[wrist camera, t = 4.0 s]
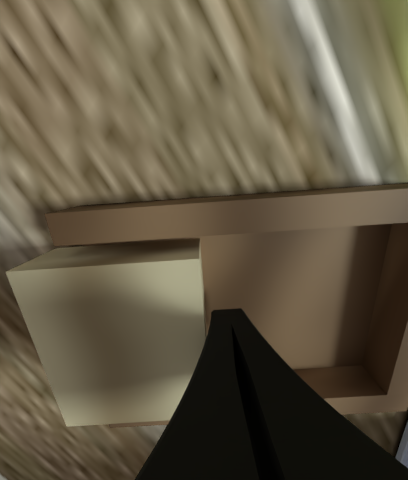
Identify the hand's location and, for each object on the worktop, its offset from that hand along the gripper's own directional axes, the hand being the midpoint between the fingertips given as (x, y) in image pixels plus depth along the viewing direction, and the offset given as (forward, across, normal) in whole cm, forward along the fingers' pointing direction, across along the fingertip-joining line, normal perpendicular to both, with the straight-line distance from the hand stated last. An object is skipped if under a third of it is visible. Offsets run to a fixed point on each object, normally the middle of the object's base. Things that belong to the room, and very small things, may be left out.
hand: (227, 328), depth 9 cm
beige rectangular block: (+1, +4, 0) cm, 4 cm away
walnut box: (+2, -1, 0) cm, 2 cm away
